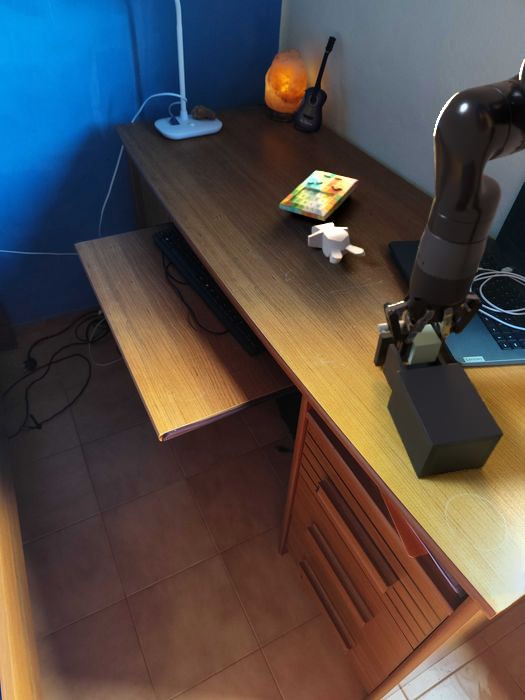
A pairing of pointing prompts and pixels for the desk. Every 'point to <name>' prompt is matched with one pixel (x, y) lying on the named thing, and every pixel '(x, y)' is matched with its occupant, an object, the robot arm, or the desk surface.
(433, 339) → the block
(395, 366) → the drawer
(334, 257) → the bunny figurine
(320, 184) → the puzzle game
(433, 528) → the desk surface
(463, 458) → the dark box
